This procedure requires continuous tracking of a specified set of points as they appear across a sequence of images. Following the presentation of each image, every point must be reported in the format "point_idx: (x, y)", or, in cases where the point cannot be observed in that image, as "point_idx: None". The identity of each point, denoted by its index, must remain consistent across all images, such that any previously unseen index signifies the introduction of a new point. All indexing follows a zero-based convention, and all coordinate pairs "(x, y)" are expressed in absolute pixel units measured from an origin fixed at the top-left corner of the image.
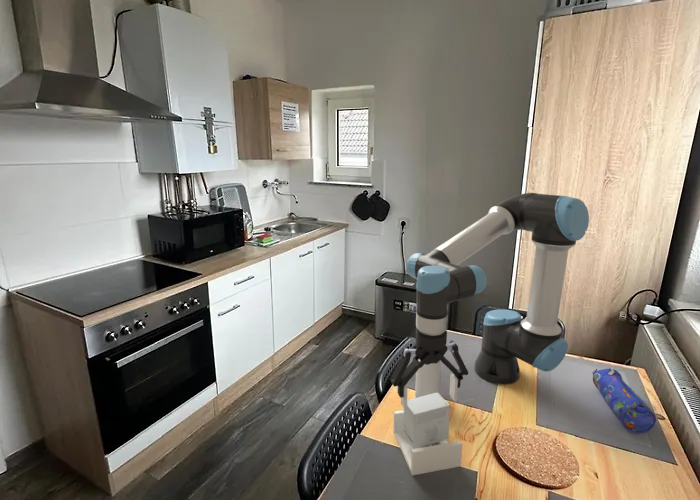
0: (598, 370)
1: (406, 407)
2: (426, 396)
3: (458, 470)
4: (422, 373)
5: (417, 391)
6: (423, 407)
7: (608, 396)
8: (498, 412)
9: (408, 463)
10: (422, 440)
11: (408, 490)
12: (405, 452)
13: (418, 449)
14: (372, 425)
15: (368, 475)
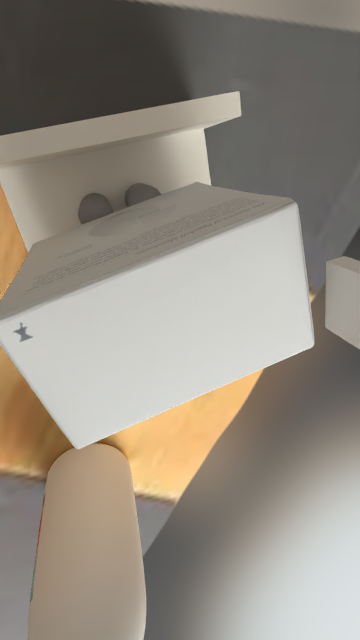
0: None
1: (343, 264)
2: (162, 400)
3: (3, 130)
4: (124, 565)
5: (129, 482)
6: (213, 284)
7: None
8: None
9: (207, 159)
10: (168, 198)
11: (223, 34)
12: None
13: (209, 111)
14: None
15: (339, 123)
